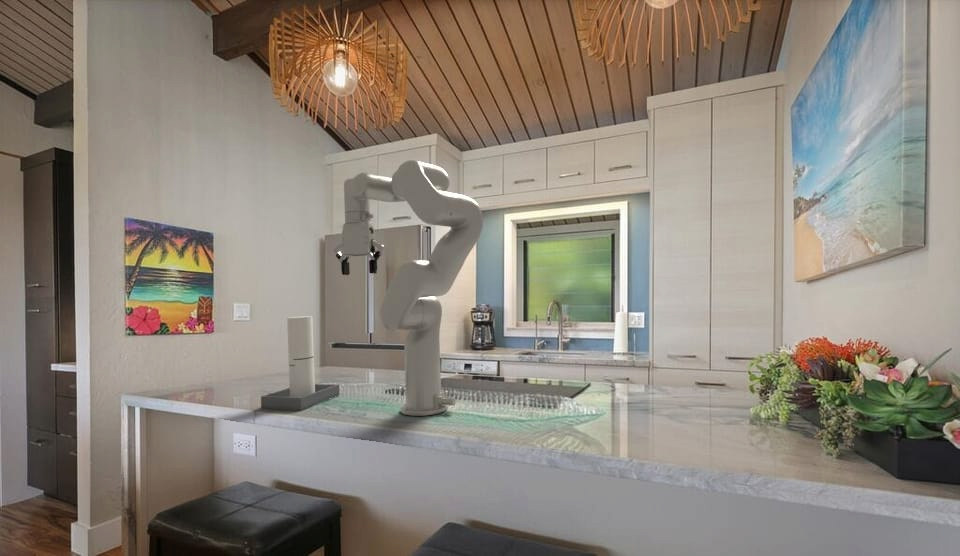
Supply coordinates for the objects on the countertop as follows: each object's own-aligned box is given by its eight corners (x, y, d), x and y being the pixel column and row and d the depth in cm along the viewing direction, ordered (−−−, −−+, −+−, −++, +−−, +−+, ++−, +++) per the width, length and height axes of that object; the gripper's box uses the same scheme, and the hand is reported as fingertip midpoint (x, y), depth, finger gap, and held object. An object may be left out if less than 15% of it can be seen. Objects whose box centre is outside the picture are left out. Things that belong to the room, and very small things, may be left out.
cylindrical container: (309, 401, 136) (306, 317, 136) (285, 402, 136) (283, 318, 136) (318, 395, 143) (316, 315, 143) (296, 396, 143) (293, 316, 143)
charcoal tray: (339, 395, 146) (339, 384, 146) (301, 410, 129) (301, 398, 129) (302, 394, 150) (302, 383, 150) (261, 408, 133) (260, 396, 133)
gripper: (388, 218, 143) (390, 273, 143) (340, 223, 148) (342, 275, 148) (375, 215, 136) (377, 272, 136) (326, 219, 141) (328, 275, 141)
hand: (359, 274), depth 142 cm, fingers open, 9 cm apart
